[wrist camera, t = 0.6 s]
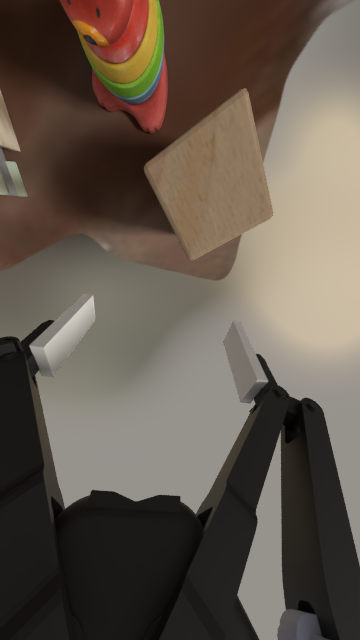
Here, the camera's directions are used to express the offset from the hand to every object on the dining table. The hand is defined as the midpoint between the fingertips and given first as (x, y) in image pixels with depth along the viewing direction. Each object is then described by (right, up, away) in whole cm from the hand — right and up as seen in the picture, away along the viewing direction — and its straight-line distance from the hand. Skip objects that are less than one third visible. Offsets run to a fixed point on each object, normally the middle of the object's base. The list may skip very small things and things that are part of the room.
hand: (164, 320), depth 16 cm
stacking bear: (-5, +36, +9) cm, 37 cm away
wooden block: (+5, +24, +17) cm, 30 cm away
